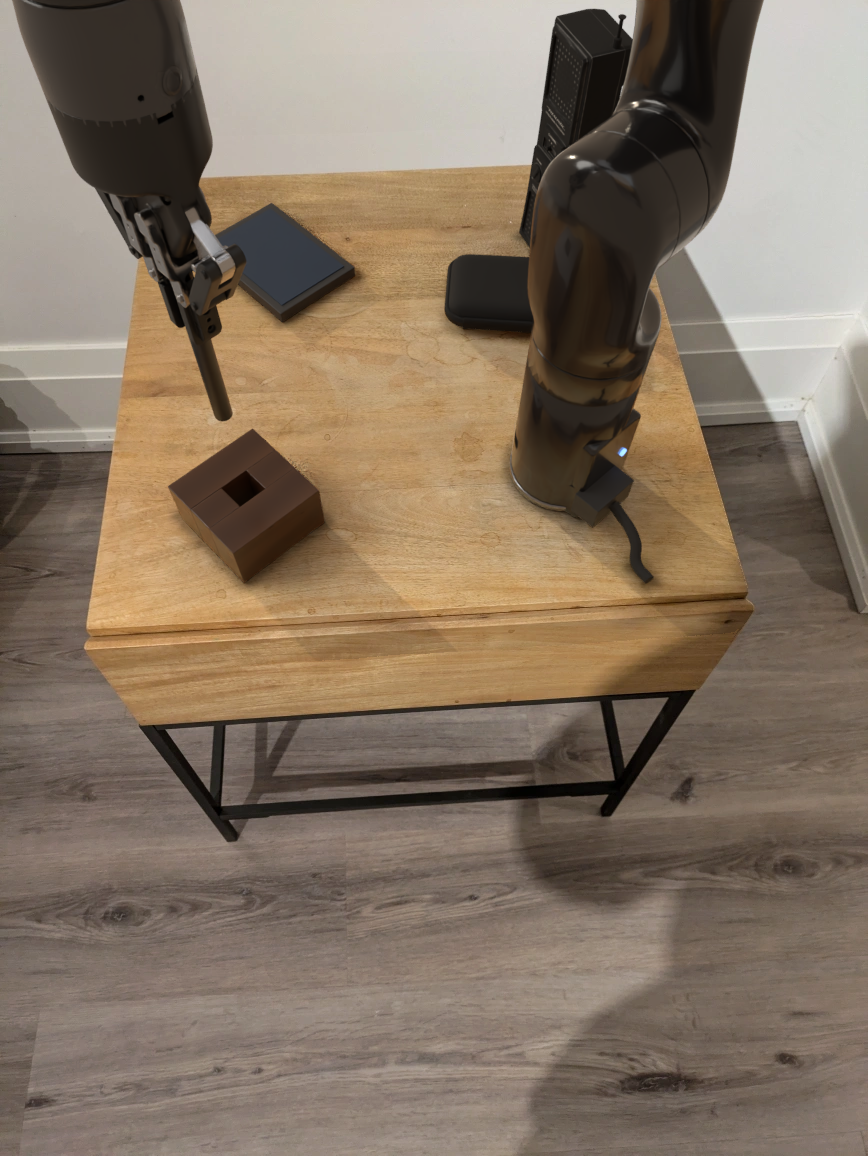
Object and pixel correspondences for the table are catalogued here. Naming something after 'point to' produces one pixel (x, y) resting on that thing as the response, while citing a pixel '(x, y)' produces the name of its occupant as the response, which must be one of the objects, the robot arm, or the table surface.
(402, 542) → the table surface
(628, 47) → the portable radio
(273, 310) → the tablet
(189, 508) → the pen stand
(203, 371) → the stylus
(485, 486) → the table surface
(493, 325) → the carrying case
